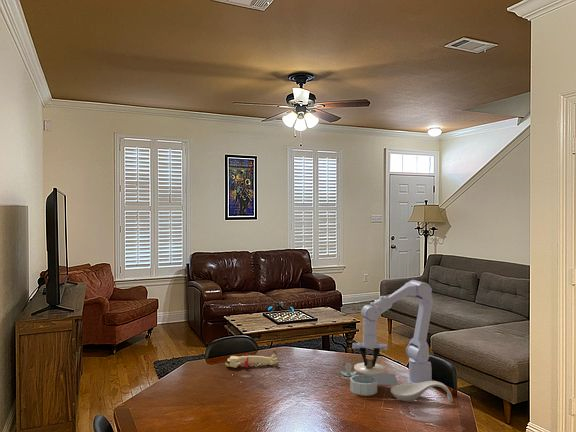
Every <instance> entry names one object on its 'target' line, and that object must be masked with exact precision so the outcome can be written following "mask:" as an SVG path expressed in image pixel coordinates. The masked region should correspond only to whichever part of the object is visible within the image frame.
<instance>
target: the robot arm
mask: <svg viewBox="0 0 576 432" xmlns="http://www.w3.org/2000/svg"><path fill="white" fill-rule="evenodd" d="M432 293H433V288H432V287H431V286H430V285H429V283H427V282H423V281H419V280H416V279H411V280H409V281H408V282H405V283H404V285H402V286H401V287H400V288H399V289H397V290H395V291H394V292H393V293H391V294H390V295H388V296H386V295H380V296H379V299H378V298H377V300H375V301H372V302H370V304H365V305H364V306H362V309H361V310H360V315H361V316H362V342H352V347H351V348H352V349H353V350H354V349H359V352H360V355H361V357H362V360H363V363H364V366H366V359H367V357H366V356H367V350H372V351H373V352H372V353H373V357H372V359H373V367H375V363H376V362H377V359H378V357H379V354H380V353H381V351H380V350H384V351H387V350H388V344H387V343H378V341H377V333H378V332H377V329H378V328H377V327H378V326H377V324H378V323H377V321H378V320H379V317H380V316H381V314H383V313H384V312H386V311H388V310H390V309H391V308H392V307H393V304H394V303H396V302H398V301H400V300H401V299H403V298H406V297H407V296H414V297H415V298H416V299H417V301H418V303H419V305H418V311H417V316H416V321H415V328H414V332H413V337H412V338H411V339H410V340H409V342H408V345H407V347H405V353H406V356H407V357H408V376H407V377H406V379H407V380H408V384H413V383H421V382H426V381H433V380H432V377H433V376H432V370H433V369H432V363H431V361H429V359H430V353H429V352H430V351H429V348H430V347H429V344H428V341H427V339H428V338H427V337H428V333H429V332H428V331H429V327H430V326H429V325H430V322H431V316H432V310H433V306H434V304H433V303H434V298H433V294H432Z"/></svg>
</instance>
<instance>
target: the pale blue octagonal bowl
mask: <svg viewBox="0 0 576 432" xmlns="http://www.w3.org/2000/svg"><path fill="white" fill-rule="evenodd" d="M349 378H350V379H349V389H350V390H349V391H350V392H351V393H352V394H354V395H359V396H373V395H375V394H377V393H378V385H377V378H375V377H373V376H370V375H364V374H355V375H353V376H352V377H349Z"/></svg>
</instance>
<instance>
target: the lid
mask: <svg viewBox="0 0 576 432" xmlns="http://www.w3.org/2000/svg"><path fill="white" fill-rule="evenodd" d="M353 368H354V371H356V372H357V373H359V374H360V373H361V374H363V375H364V374H384V373H385V371H386V367H385V366H384V365H382V364H379V363H375V367H373V357H372V358H369V357H366V366H364V362H358V363H355V364H354V365H353Z"/></svg>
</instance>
